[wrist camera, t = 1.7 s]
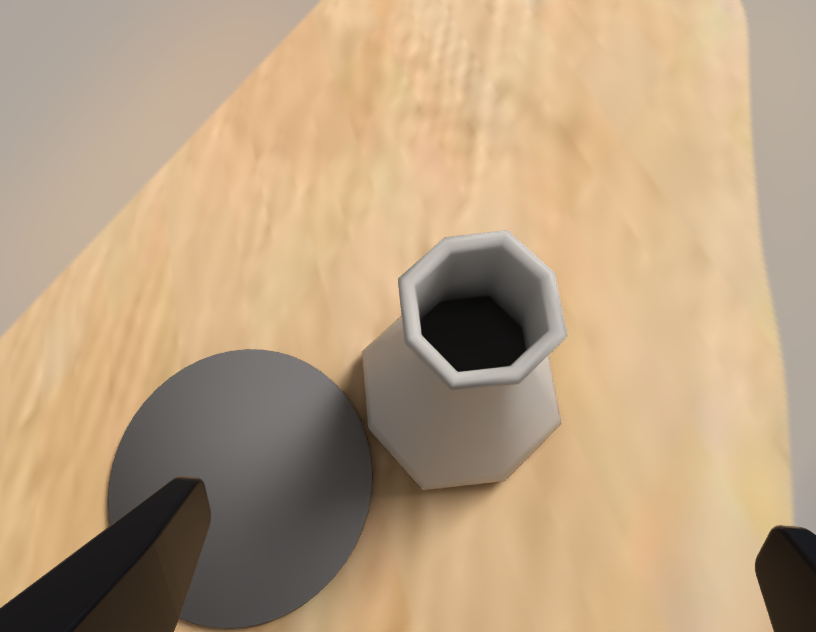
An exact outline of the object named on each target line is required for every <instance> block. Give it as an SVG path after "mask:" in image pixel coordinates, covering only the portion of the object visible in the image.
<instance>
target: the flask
mask: <svg viewBox="0 0 816 632" xmlns="http://www.w3.org/2000/svg"><path fill="white" fill-rule="evenodd" d="M398 286H399V295H400V305H401V314H402V316H401V317H400V318H399V319H397V320H396V321H395V322H394V323H393V324H392V325H391V326H390V327H389V328H387V329H386V330H385V331H384V332H383V333H382V334H381V335H380V336H379V337H378V338H376V339H375V340H374V341H373V342H372V343H371V344H370V345H369V346H368V347H366V348H365V349H364V350H363V351H362V360H363V372H364V384H365V396H366V408H367V420H368V429H369V430H370V431H371V432H372V434H373V435H374V436H375V437H376V438H377V439H378V440H379V441H380V443H381V444H382V445H383V446H384V447H385V448H386V449H387V450H388V452H389V453H390V454H391V455H392V456H393V457H394V458H395V459H396V461H397V462H398V463H399V464H400V465H401V466H402V467H403V468H404V470H405V471H406V472H407V473H408V474H409V475H410V476H411V477H412V479H413V480H414V481H415V482H416V483H417V484H418V485H419V486H420V488H421V489H422V490H428V489H437V488H446V487H455V486H464V485H473V484H482V483H492V482H501V481H505V480H506V479H507V478H508V477H509V476H510V475H511V474H512V473H513V472H514V471H515V470H516V469H517V468H518V467H519V466H520V465H521V464H522V463H523V462H524V461H525V460H526V459H527V458H528V457H529V456H530V455H531V454H532V453H533V452H534V451H535V450H536V449H537V448H538V447H539V446H540V445H541V444H542V443H543V442H544V441H545V440H546V439H547V438H548V437H549V436H550V435H551V434H552V433H553V432H554V431H555V430H556V429H557V428H558V427H559V426H560V425H561V418H560V413H559V408H558V402H557V397H556V392H555V386H554V381H553V376H552V370H551V365H550V359H549V354H550V353H551V352H552V351H553V350H554V349H555V348H556V347H557V346H558V345H559V344H560V343H561V342H562V341H563V340H564V339H565V338H566V337H567V331H566V326H565V321H564V316H563V311H562V306H561V301H560V296H559V291H558V286H557V281H556V276H555V272H553V271H552V270H551V269H550V268H549V267H548V266H547V265H546V264H545V263H543V262H542V261H541V260H540V259H539V258H538V257H537V256H536V255H535V254H533V253H532V252H531V251H530V250H529V249H528V248H527V247H526V246H525V245H523V244H522V243H521V242H520V241H519V240H518V239H517V238H516V237H515V236H513V235H512V234H511V233H510V232H509V231H508V230H504V231H496V232H487V233H479V234H470V235H462V236H453V237H445V238H443V239H442V240H441V241H440V242H439V243H438V244H437V245H436V246H434V247H433V248H432V249H431V250H430V251H429V252H428V253H426V254H425V255H424V256H423V257H422V258H421V259H420V260H419V261H417V262H416V263H415V264H414V265H413V266H412V267H411V268H410V269H408V270H407V271H406V272H405V273H404V274H403V275H402V276H401V277H399V278H398Z"/></svg>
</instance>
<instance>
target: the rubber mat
mask: <svg viewBox="0 0 816 632" xmlns="http://www.w3.org/2000/svg"><path fill="white" fill-rule="evenodd" d="M178 476H186V477H198V478H201V479H202V480H203V481H204V484H205V487H206V492H207V496H208V501H209V505H210V509H211V522H210V527H209V530H208V533H207V536H206V539H205V542H204V545H203V548H202V551H201V554H200V557H199V560H198V563H197V566H196V570H195V573H194V576H193V579H192V582H191V585H190V588H189V591H188V594H187V597H186V600H185V603H184V606H183V609H182V612H181V615H180V617H179V618H181V619H183V620H186V621H189V622H191V623H194V624H198V625H203V626H208V627H213V628H240V627H250V626H254V625H258V624H262V623H266V622H269V621H272V620H274V619H277V618H279V617H282V616H284V615H286V614H288V613H290V612H292V611H293V610H295V609H297V608H299V607H300V606H302V605H303V604H305V603H306V602H307V601H309V600H310V599H311V598H313V597H314V596H315V595H317V594H318V593H319V592H320V591H321V590H322V589H323V588H324V587H325V586H326V585H327V584H328V583H329V582H330V581H331V580H332V579H333V578H334V577H335V575H336V574H337V573H338V571H339V570H340V569H341V568H342V566H343V565H344V564H345V562H346V561H347V559H348V557H349V556H350V554H351V552H352V551H353V549H354V548H355V546H356V543H357V541H358V539H359V537H360V534H361V532H362V530H363V527H364V524H365V520H366V517H367V514H368V510H369V505H370V499H371V493H372V461H371V454H370V449H369V444H368V439H367V436H366V433H365V431H364V428H363V425H362V422H361V420H360V418H359V416H358V414H357V412H356V410H355V409H354V407H353V406H352V404H351V403H350V401H349V400H348V398H347V397H346V395H345V394H344V393H343V392H342V391H341V390H340V389H339V387H338V386H337V385H336V384H335V383H334V382H333V381H331V380H330V379H329V378H328V377H327V376H326V375H324V374H323V373H322V372H321V371H319V370H318V369H316V368H314V367H313V366H311V365H310V364H308V363H306V362H304V361H302V360H299V359H297V358H295V357H292V356H289V355H286V354H282V353H279V352H273V351H267V350H250V349H246V350H236V351H229V352H225V353H220V354H216V355H213V356H210V357H207V358H205V359H202V360H199V361H197V362H195V363H193V364H191V365H189V366H187V367H186V368H184V369H182V370H181V371H179V372H178V373H176V374H175V375H173V376H172V377H170V378H169V379H168V380H167V381H165V382H164V383H163V384H162V385H161V386H160V387H158V388H157V389H156V390H155V391H154V392H153V393H152V395H151V396H150V397H149V398H148V399H147V400H146V401H145V402H144V403H143V405H142V406H141V407H140V409H139V410H138V411H137V413H136V414H135V415H134V417H133V419H132V421H131V422H130V424H129V426H128V427H127V429H126V431H125V433H124V435H123V437H122V440H121V442H120V444H119V446H118V449H117V452H116V456H115V459H114V462H113V465H112V471H111V476H110V482H109V495H108V508H109V521H110V525H112V524H113V523H114V522H116V521H117V520H118V519H120V518H121V517H122V516H124V515H125V514H126V513H128V512H129V511H130V510H132V509H133V508H134V507H136V506H137V505H138V504H140V503H141V502H142V501H144V500H145V499H146V498H148V497H149V496H150V495H152V494H153V493H154V492H156V491H157V490H158V489H160V488H161V487H162V486H164V485H165V484H166V483H168V482H169V481H170V480H172V479H173V478H176V477H178Z"/></svg>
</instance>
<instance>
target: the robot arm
mask: <svg viewBox="0 0 816 632" xmlns="http://www.w3.org/2000/svg"><path fill="white" fill-rule="evenodd" d="M210 522H211V509H210V505H209V501H208V496H207V492H206V487H205V484H204V481H203V480H202V479H201V478H198V477H186V476H178V477H176V478H173V479H172V480H170V481H169V482H168V483H166V484H165V485H164V486H162V487H161V488H160V489H158V490H157V491H156V492H154V493H153V494H152V495H150V496H149V497H148V498H146V499H145V500H144V501H142V502H141V503H140V504H138V505H137V506H136V507H134V508H133V509H132V510H130V511H129V512H128V513H126V514H125V515H124V516H122V517H121V518H120V519H118V520H117V521H116V522H114V523H113V524H112V525H110V526H109V527H108V528H106V529H105V530H104V531H102V532H101V533H100V534H98V535H97V536H96V537H94V538H93V539H92V540H90V541H89V542H88V543H86V544H85V545H84V546H82V547H81V548H80V549H78V550H77V551H76V552H74V553H73V554H72V555H70V556H69V557H68V558H66V559H65V560H64V561H62V562H61V563H60V564H58V565H57V566H56V567H54V568H53V569H52V570H50V571H49V572H48V573H46V574H45V575H44V576H42V577H41V578H40V579H38V580H37V581H36V582H34V583H33V584H32V585H30V586H29V587H28V588H26V589H25V590H24V591H22V592H21V593H20V594H18V595H17V596H16V597H14V598H13V599H12V600H10V601H9V602H8V603H6V604H5V605H4V606H2V607H1V608H0V632H174V630H175V627H176V625H177V623H178V620H179V617H180V615H181V612H182V609H183V606H184V603H185V600H186V597H187V594H188V591H189V588H190V585H191V582H192V579H193V576H194V573H195V570H196V566H197V563H198V560H199V557H200V554H201V551H202V548H203V545H204V542H205V539H206V536H207V533H208V530H209V527H210ZM755 572H756V576H757V580H758V583H759V586H760V589H761V592H762V596H763V599H764V602H765V605H766V608H767V611H768V615H769V618H770V621H771V624H772V627H773V630H774V632H816V535H815V534H814V533H812V532H811V531H809V530H807V529H805V528H802V527H795V526H782V525H778V526H775V527H774V528H772V529H771V531H770V533H769V534H768V536H767V538H766V540H765V542H764V544H763V546H762V548H761V550H760V551H759V553H758V555H757V558H756V561H755Z"/></svg>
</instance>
